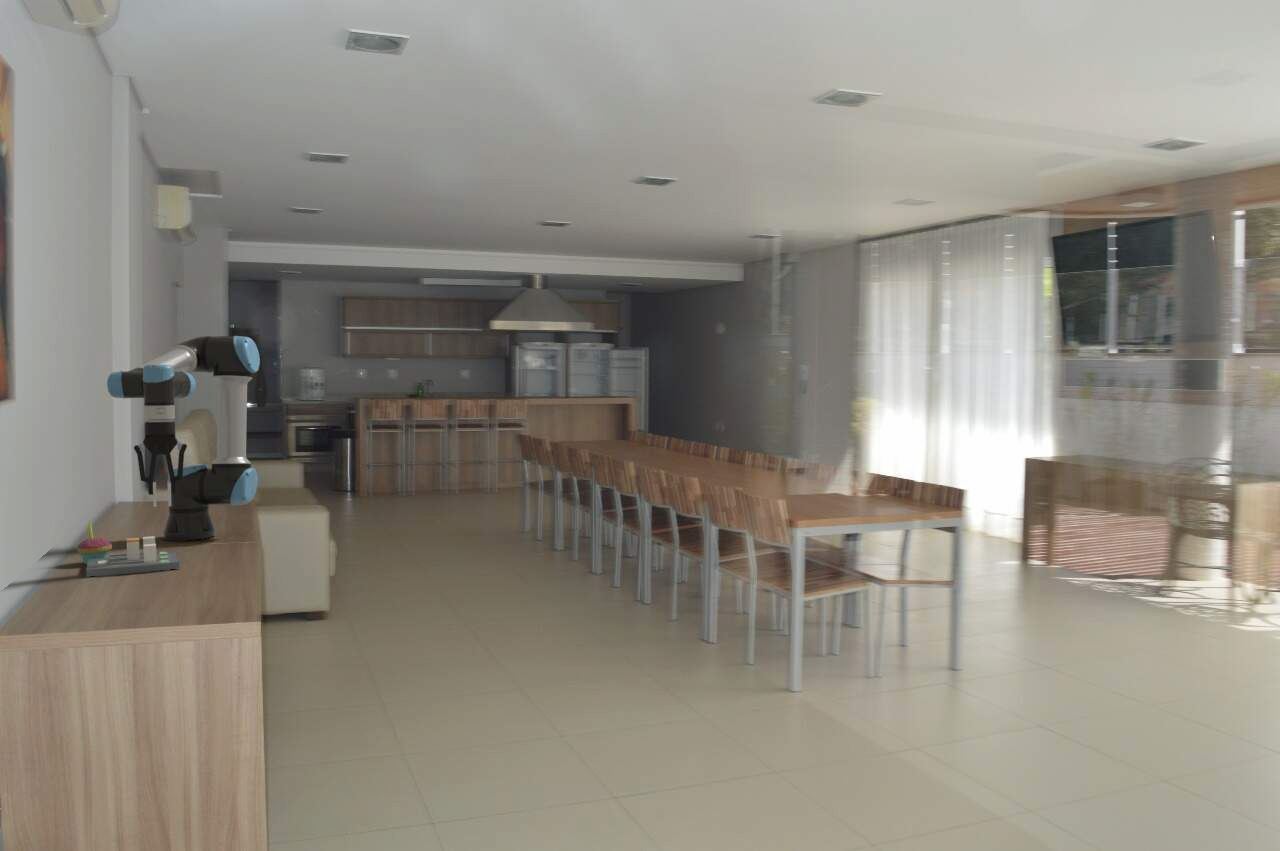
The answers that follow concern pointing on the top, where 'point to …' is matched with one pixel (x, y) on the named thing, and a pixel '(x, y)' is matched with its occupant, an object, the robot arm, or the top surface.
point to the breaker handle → (133, 549)
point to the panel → (133, 562)
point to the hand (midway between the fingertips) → (162, 505)
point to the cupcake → (93, 547)
